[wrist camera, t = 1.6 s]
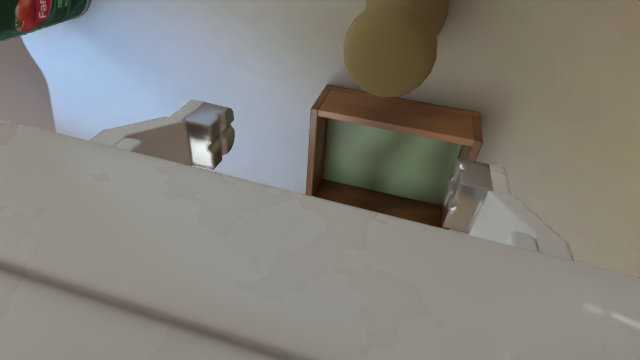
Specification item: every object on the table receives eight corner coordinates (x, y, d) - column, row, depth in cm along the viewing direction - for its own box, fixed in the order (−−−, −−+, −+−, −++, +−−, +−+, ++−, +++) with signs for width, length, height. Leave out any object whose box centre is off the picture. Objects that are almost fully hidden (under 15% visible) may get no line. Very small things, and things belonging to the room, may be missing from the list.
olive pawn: (461, 27, 29) (464, 84, 20) (388, 65, 32) (364, 128, 23) (425, -53, 26) (412, -27, 18) (351, -4, 29) (309, 39, 21)
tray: (479, 112, 32) (483, 141, 28) (422, 269, 44) (419, 303, 41) (326, 84, 34) (310, 108, 30) (313, 241, 47) (300, 271, 43)
